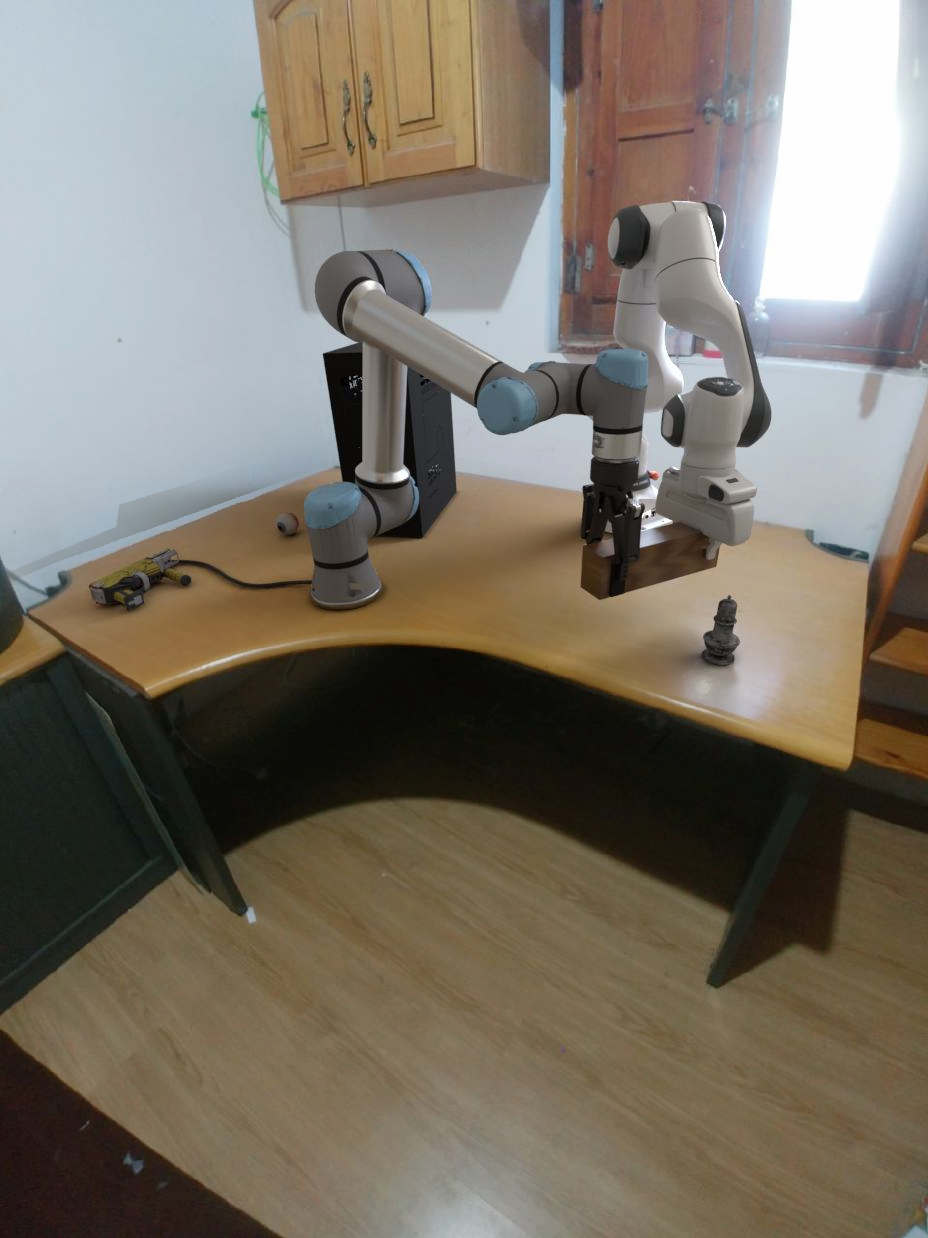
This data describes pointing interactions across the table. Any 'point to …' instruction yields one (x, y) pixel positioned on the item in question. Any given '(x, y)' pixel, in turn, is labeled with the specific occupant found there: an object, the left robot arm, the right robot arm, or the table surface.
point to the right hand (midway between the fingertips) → (694, 551)
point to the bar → (648, 559)
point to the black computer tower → (422, 437)
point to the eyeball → (287, 523)
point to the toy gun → (136, 580)
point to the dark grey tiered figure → (722, 635)
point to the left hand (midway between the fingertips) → (605, 587)
